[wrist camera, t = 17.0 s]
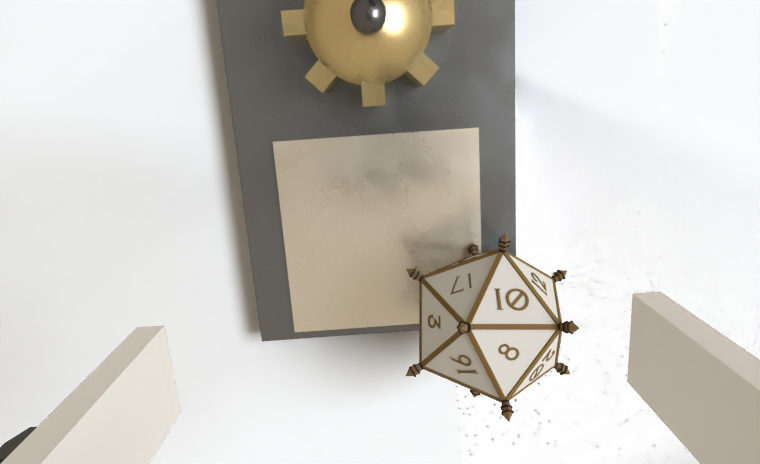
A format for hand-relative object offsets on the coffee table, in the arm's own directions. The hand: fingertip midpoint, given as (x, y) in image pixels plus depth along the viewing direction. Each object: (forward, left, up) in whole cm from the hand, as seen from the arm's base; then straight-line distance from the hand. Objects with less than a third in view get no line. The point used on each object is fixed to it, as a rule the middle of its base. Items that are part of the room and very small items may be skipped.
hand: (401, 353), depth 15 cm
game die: (0, +1, -12) cm, 12 cm away
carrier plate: (-3, -3, -16) cm, 17 cm away
